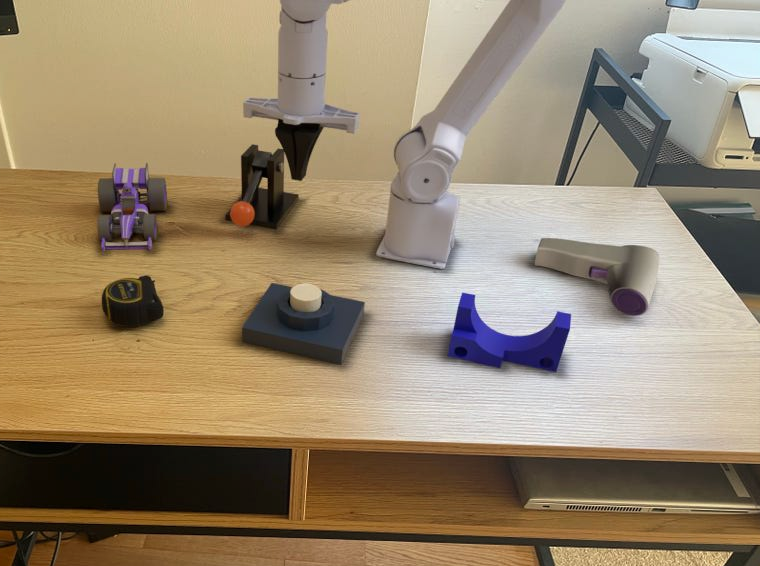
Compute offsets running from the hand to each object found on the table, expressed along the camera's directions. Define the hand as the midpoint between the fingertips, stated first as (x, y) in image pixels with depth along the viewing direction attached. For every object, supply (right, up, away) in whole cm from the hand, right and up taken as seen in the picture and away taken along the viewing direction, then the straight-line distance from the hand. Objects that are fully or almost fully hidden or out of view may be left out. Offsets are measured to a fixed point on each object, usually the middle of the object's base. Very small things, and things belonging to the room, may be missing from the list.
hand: (298, 177), depth 97 cm
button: (+1, -17, -11) cm, 20 cm away
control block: (+1, -20, -8) cm, 22 cm away
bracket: (-5, -2, +14) cm, 15 cm away
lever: (-6, -1, +9) cm, 11 cm away
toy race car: (-24, -5, +10) cm, 27 cm away
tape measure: (-20, -18, -6) cm, 28 cm away
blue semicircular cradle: (+23, -24, -12) cm, 35 cm away
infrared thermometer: (+38, -14, 0) cm, 41 cm away
